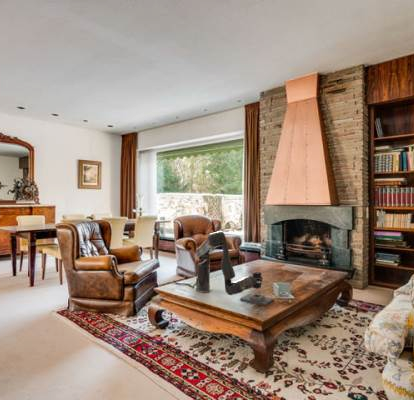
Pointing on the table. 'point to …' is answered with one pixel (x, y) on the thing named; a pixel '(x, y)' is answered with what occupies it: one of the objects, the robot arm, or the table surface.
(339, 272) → the table surface
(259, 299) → the base pad
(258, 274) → the pad block
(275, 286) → the l-shaped corner panel
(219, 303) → the table surface
